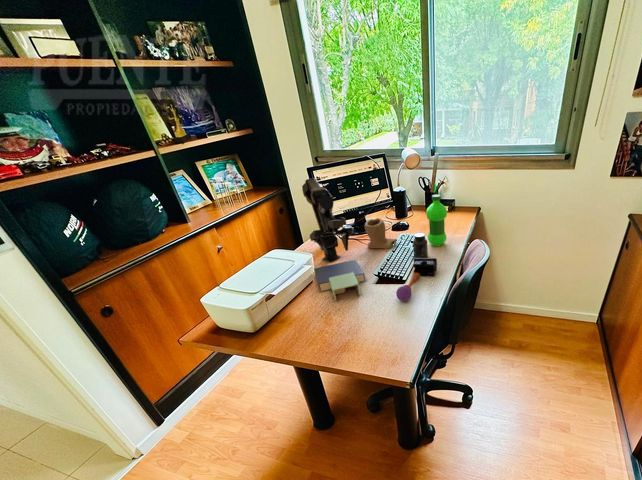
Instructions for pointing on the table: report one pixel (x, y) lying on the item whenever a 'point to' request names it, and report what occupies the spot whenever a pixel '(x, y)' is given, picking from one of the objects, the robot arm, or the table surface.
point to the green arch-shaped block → (343, 282)
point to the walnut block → (350, 288)
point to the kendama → (407, 288)
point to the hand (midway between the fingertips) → (337, 252)
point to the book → (337, 273)
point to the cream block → (339, 291)
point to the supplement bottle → (420, 246)
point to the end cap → (425, 266)
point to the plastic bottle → (436, 221)
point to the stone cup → (378, 234)
